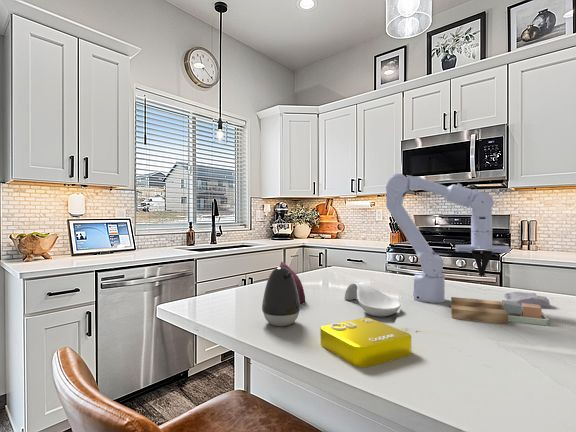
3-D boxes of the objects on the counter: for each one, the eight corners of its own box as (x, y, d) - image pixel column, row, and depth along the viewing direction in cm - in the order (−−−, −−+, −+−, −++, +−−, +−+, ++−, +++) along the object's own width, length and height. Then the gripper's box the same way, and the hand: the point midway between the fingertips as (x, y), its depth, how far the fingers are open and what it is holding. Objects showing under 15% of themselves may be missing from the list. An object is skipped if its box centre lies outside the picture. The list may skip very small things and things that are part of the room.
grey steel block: (502, 317, 94) (504, 303, 93) (499, 313, 97) (501, 299, 97) (519, 321, 92) (521, 306, 92) (516, 317, 96) (518, 302, 95)
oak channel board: (451, 321, 94) (451, 308, 94) (451, 308, 107) (451, 297, 107) (507, 327, 89) (508, 314, 89) (500, 313, 101) (500, 301, 101)
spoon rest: (409, 318, 98) (409, 292, 98) (373, 322, 94) (372, 296, 94) (364, 298, 121) (364, 278, 120) (333, 301, 117) (333, 280, 117)
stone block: (518, 316, 104) (554, 311, 103) (514, 300, 105) (550, 295, 103) (501, 307, 116) (534, 302, 114) (498, 293, 116) (530, 288, 115)
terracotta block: (522, 321, 92) (522, 306, 92) (521, 317, 95) (521, 302, 95) (541, 323, 90) (541, 308, 90) (539, 319, 93) (539, 304, 93)
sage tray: (507, 324, 91) (507, 315, 91) (503, 316, 99) (503, 308, 99) (549, 329, 87) (549, 320, 87) (542, 320, 95) (542, 311, 95)
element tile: (359, 371, 66) (359, 346, 66) (316, 345, 79) (316, 324, 79) (415, 355, 73) (415, 333, 73) (367, 333, 86) (367, 314, 86)
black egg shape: (272, 332, 86) (271, 271, 86) (256, 321, 96) (256, 265, 95) (307, 326, 91) (307, 268, 91) (289, 315, 100) (288, 263, 100)
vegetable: (271, 314, 113) (258, 270, 112) (284, 302, 122) (271, 261, 122) (300, 309, 109) (287, 263, 108) (311, 297, 118) (298, 255, 117)
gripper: (455, 231, 107) (455, 275, 107) (511, 232, 101) (511, 279, 101) (455, 230, 113) (455, 272, 113) (507, 231, 107) (507, 275, 107)
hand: (481, 275), depth 108 cm, fingers closed
